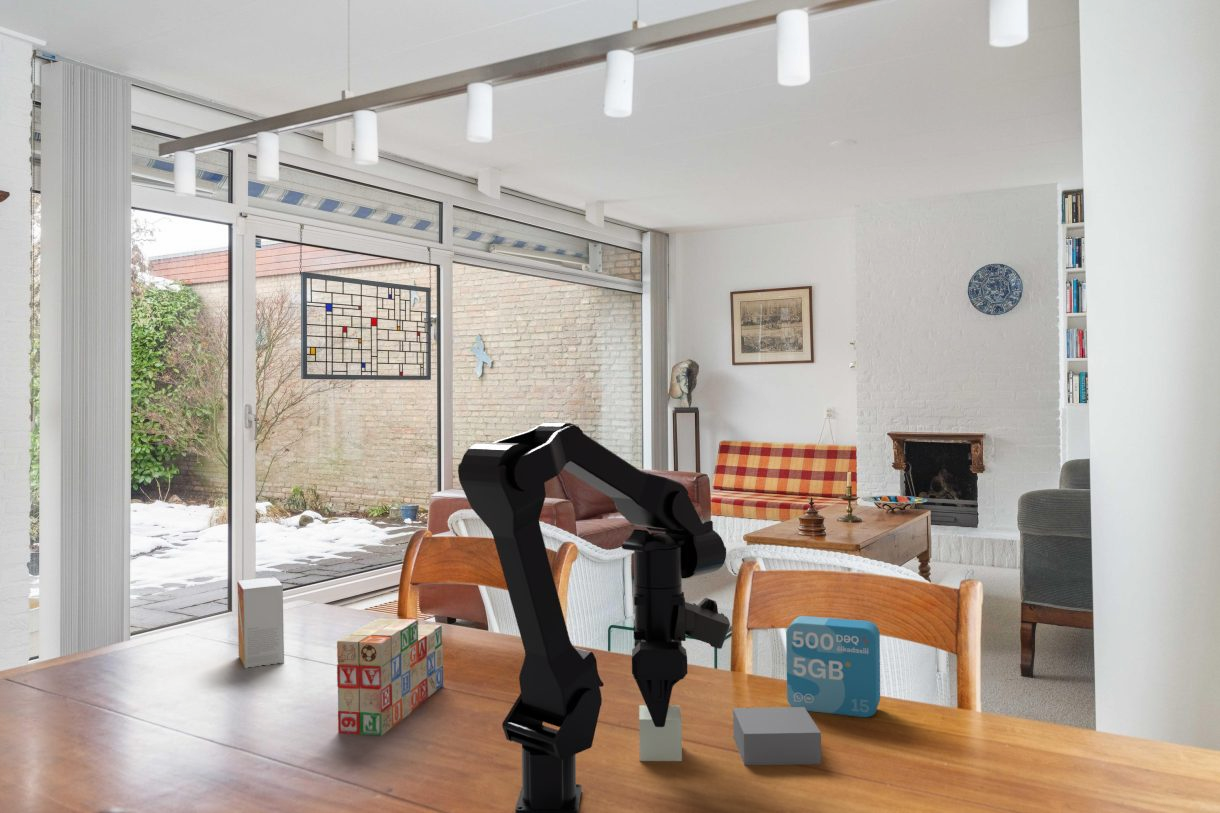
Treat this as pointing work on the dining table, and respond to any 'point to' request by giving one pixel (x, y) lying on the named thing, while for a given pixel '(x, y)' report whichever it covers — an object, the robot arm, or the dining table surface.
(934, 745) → the dining table surface
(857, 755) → the dining table surface
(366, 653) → the stack of blocks
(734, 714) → the gray square block
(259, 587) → the small box
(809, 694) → the data package
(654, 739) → the sage cube
